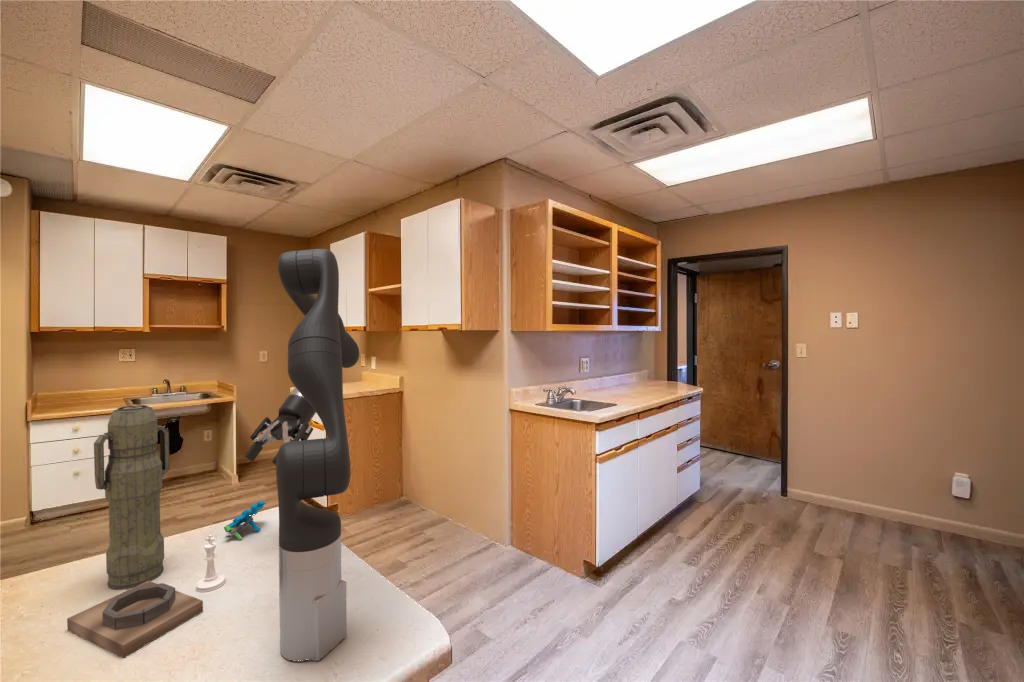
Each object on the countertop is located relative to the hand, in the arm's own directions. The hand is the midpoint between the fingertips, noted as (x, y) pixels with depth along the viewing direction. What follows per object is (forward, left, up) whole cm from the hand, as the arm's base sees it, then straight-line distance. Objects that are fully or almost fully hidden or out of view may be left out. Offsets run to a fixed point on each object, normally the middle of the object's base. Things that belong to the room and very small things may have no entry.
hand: (261, 462), depth 97 cm
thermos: (+16, +16, -22) cm, 31 cm away
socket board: (+1, +24, -21) cm, 32 cm away
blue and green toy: (+15, -6, -22) cm, 27 cm away
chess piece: (0, +12, -22) cm, 24 cm away
